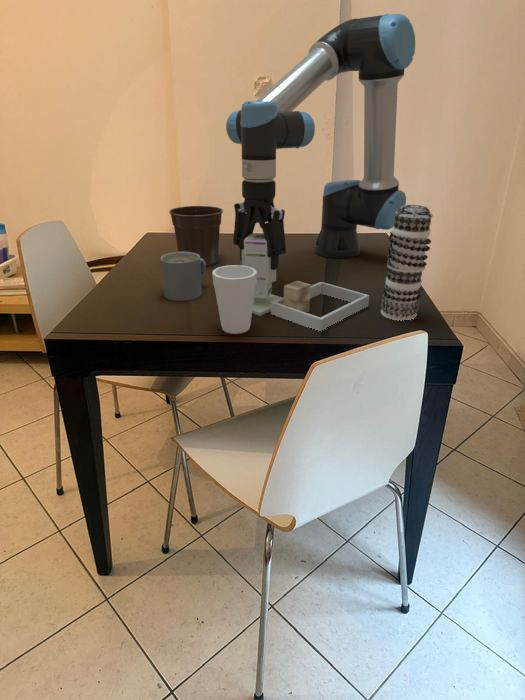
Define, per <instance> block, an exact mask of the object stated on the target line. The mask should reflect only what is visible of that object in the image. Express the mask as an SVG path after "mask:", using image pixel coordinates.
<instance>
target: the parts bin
mask: <svg viewBox="0 0 525 700" xmlns="http://www.w3.org/2000/svg"><path fill="white" fill-rule="evenodd" d="M320 295H323V296H326V295H327V296H326V297H330V296H331V298H333V297H334V298H333V299H336V298H338V299H337V300H340V299H341V300H340V301H343V300H344V301H343V302H346V301H348V302H347V304H345V305H343V306H340V307H339V308H337V309H335V310H333V311H330V312H328V313H327V314H325V315H322V316H321V317H320V316H316V315H314V314H311V313H309V312H308V313H305V312H302V311H300V310H297V309H294V308H291V307H288V306H285V305H284V296H283V297H282V298H281V299H278V300H276V301H273V302H271V311H270V315H272V316H274V315H275V317H277V318H280V319H283V320H286V321H288V320H289V322H291V321H292V322H291V323H295V324H296V325H299V326H303V327H305V328H308V327H309V328H308V329H310V328H312V329H311V330H313V329H315V330H314V331H316V330H318V331H317V332H319V331H321V332H323V331H325V330H327V329H328V328H327V327H329V326H331V325H333V324H335V323H336V324H338V323H340V322H342V321H344V320H345V319H344V318H346V317H348V316H350V315H352V314H353V315H355V314H357V313H359V312H361V311H363V310H364V308H365V309H366V307H367V308H368V307H369V303H370V302H369V301H370V295H369V294H366V293H362V292H359V291H356V290H351V289H348V288H346V287H345V288H344V287H341V286H337V285H333V284H331V283H326V282H323V281H320V282H317V283H315V284H311V288H310V300H311V299H312V298H315V297H318V296H320ZM350 302H351V303H350ZM362 309H363V310H362ZM360 310H361V311H360ZM358 311H359V312H358ZM356 312H357V313H356ZM354 313H355V314H354ZM353 315H352V316H353ZM350 317H351V316H350ZM348 318H349V317H348ZM343 319H344V320H343ZM346 319H347V318H346ZM341 320H342V321H341ZM339 321H340V322H339ZM337 322H338V323H337ZM336 324H335V325H336ZM333 326H334V325H333ZM331 327H332V326H331ZM326 328H327V329H326ZM329 328H330V327H329ZM324 329H325V330H324ZM322 330H323V331H322Z"/></svg>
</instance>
